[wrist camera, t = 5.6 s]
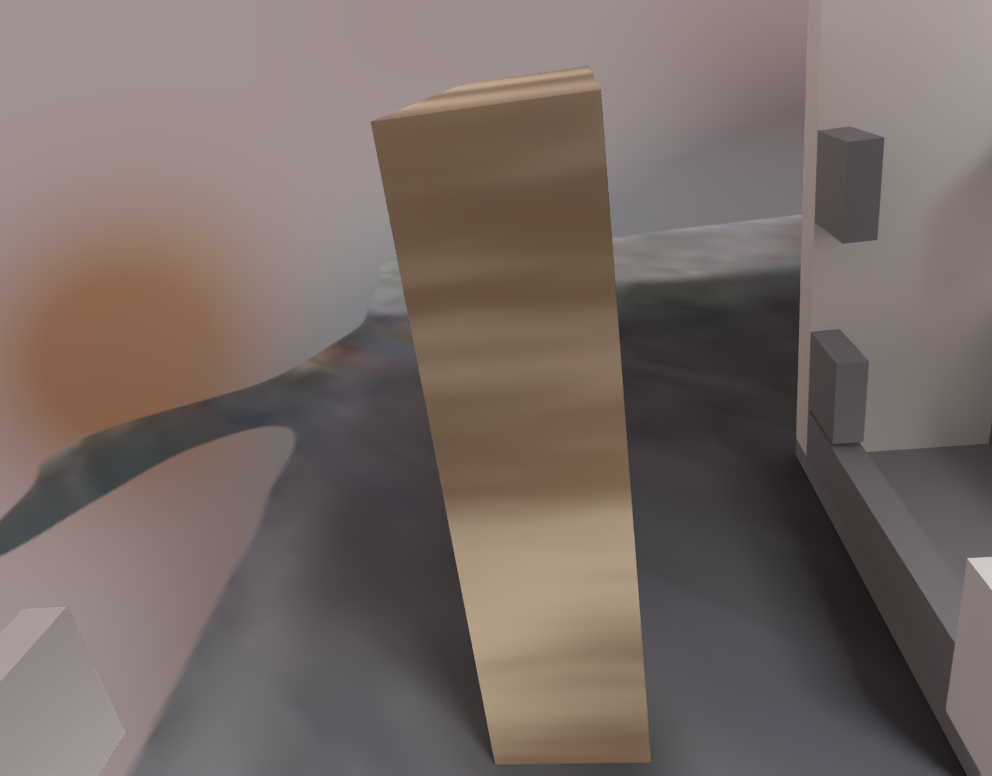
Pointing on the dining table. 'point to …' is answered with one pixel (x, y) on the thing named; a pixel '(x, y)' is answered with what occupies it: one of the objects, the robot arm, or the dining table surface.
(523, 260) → the tan patterned box
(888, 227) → the cabinet
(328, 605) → the dining table surface
